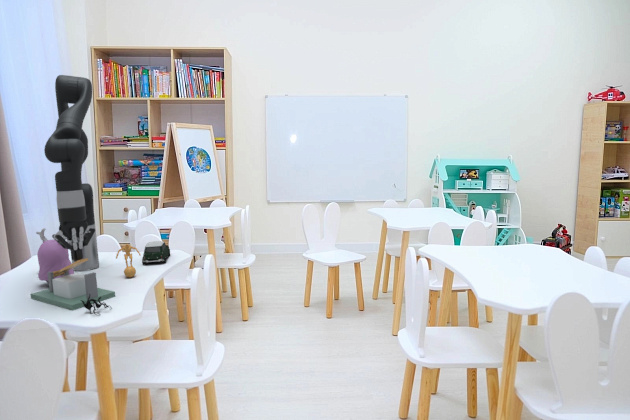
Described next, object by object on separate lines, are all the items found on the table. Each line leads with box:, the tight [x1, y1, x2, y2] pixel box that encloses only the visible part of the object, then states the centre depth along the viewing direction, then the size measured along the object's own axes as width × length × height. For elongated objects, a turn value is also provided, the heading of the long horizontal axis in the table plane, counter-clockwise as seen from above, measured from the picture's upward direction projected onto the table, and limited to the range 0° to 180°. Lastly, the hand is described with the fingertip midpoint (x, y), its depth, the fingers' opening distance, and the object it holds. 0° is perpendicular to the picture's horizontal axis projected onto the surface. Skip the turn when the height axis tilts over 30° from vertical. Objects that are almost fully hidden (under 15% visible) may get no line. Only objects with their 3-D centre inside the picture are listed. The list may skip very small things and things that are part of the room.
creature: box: [80, 294, 113, 317], centre depth 134 cm, size 8×5×8 cm
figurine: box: [115, 243, 141, 278], centre depth 170 cm, size 8×6×12 cm
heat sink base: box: [30, 270, 116, 311], centre depth 148 cm, size 23×14×9 cm, turn 58°
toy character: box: [35, 227, 75, 285], centre depth 162 cm, size 12×10×20 cm
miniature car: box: [141, 240, 171, 266], centre depth 194 cm, size 9×18×8 cm, turn 10°
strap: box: [53, 258, 88, 277], centre depth 147 cm, size 17×3×2 cm, turn 58°
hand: (77, 261), depth 144 cm, fingers closed
